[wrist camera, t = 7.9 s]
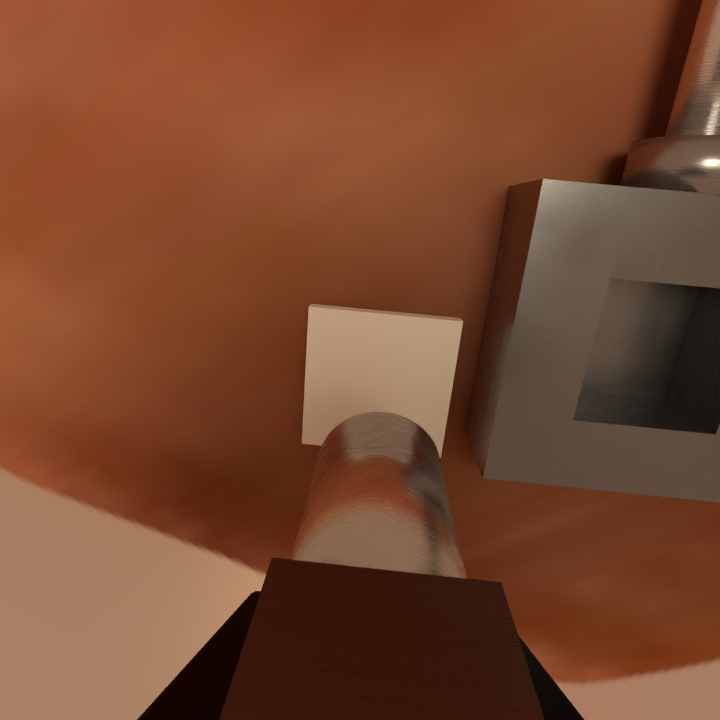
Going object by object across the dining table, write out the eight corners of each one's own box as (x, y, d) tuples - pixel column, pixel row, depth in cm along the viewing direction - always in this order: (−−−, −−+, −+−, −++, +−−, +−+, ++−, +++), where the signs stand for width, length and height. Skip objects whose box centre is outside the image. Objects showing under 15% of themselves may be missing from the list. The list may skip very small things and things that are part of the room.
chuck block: (926, -155, 13) (1125, -290, 9) (698, 456, 19) (767, 509, 16) (576, -181, 13) (646, -323, 10) (465, 432, 19) (483, 479, 16)
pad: (460, 317, 18) (463, 321, 17) (439, 450, 20) (440, 457, 19) (311, 303, 18) (308, 306, 17) (304, 437, 20) (301, 443, 19)
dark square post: (449, 418, 12) (662, 1092, 3) (431, 524, 13) (542, 1261, 4) (321, 405, 12) (120, 1024, 3) (314, 512, 13) (154, 1206, 4)
